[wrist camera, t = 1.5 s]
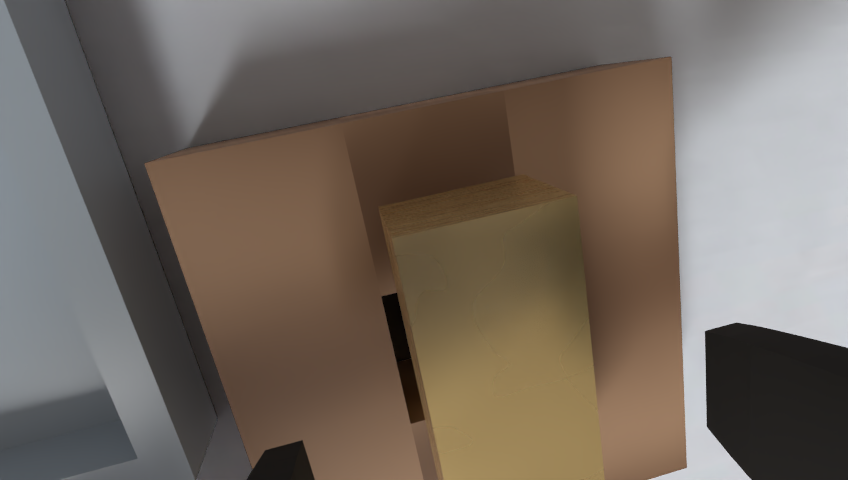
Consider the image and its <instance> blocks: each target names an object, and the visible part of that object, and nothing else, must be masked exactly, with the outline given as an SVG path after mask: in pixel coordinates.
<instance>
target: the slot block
mask: <svg viewBox="0 0 848 480" xmlns="http://www.w3.org/2000/svg"><path fill="white" fill-rule="evenodd" d="M144 164H145V167H146V170H147V173H148V176H149V179H150V181H151V184H152V187H153V190H154V193H155V196H156V198H157V201H158V204H159V207H160V210H161V213H162V215H163V218H164V221H165V224H166V227H167V229H168V232H169V235H170V238H171V241H172V244H173V246H174V249H175V252H176V255H177V258H178V261H179V263H180V266H181V269H182V272H183V275H184V277H185V280H186V283H187V286H188V289H189V292H190V294H191V297H192V300H193V303H194V306H195V309H196V311H197V314H198V317H199V320H200V323H201V325H202V328H203V331H204V334H205V337H206V340H207V342H208V345H209V348H210V351H211V354H212V357H213V359H214V362H215V365H216V368H217V371H218V374H219V376H220V379H221V382H222V385H223V388H224V390H225V393H226V396H227V399H228V402H229V405H230V407H231V410H232V413H233V416H234V419H235V422H236V424H237V427H238V430H239V433H240V436H241V438H242V441H243V444H244V447H245V450H246V453H247V455H248V458H249V461H250V464H251V467H252V470H253V468H254V467H255V465H256V463H257V462H258V460H259V459H260V457H261V456H262V454H263V453H264V451H265V450H268V449H271V448H275V447H279V446H283V445H286V444H290V443H294V442H297V441H301V440H303V443H304V446H305V450H306V453H307V456H308V459H309V462H310V466H311V469H312V472H313V475H314V478H315V480H438V476H437V472H436V467H435V463H434V458H433V454H432V449H431V445H430V440H429V436H428V431H427V426H426V422H425V417H424V413H423V408H422V404H421V399H420V395H419V390H418V386H417V381H416V376H415V372H414V367H413V363H412V358H410V359H406V360H403V361H399V362H396V358H395V354H394V350H393V345H392V341H391V337H390V332H389V328H388V324H387V319H386V315H385V311H384V306H383V302H382V298H381V296H385V295H389V294H393V293H397V290H396V286H395V281H394V276H393V272H392V267H391V263H390V258H389V254H388V249H387V245H386V240H385V236H384V231H383V227H382V222H381V217H380V213H379V208H378V207H379V206H384V205H388V204H392V203H397V202H401V201H406V200H410V199H415V198H419V197H424V196H428V195H433V194H437V193H442V192H446V191H451V190H455V189H460V188H464V187H468V186H473V185H477V184H482V183H486V182H491V181H495V180H500V179H504V178H509V177H513V176H518V175H522V174H524V175H526V176H529V177H531V178H534V179H536V180H539V181H541V182H544V183H546V184H549V185H551V186H554V187H556V188H559V189H561V190H564V191H566V192H569V193H571V194H574V195H577V201H578V211H579V221H580V231H581V242H582V252H583V262H584V272H585V283H586V293H587V303H588V313H589V324H590V334H591V344H592V354H593V365H594V375H595V385H596V395H597V406H598V416H599V426H600V436H601V447H602V457H603V467H604V477H605V480H648V479H651V478H655V477H658V476H661V475H664V474H668V473H671V472H674V471H677V470H681V469H684V468H687V462H686V436H685V409H684V382H683V355H682V328H681V301H680V274H679V247H678V221H677V194H676V167H675V140H674V113H673V86H672V59H671V57H664V58H656V59H647V60H639V61H631V62H622V63H614V64H606V65H599V66H594V67H589V68H584V69H579V70H574V71H569V72H564V73H559V74H554V75H549V76H544V77H539V78H534V79H529V80H524V81H519V82H514V83H509V84H504V85H499V86H494V87H489V88H484V89H479V90H474V91H469V92H464V93H459V94H454V95H450V96H445V97H440V98H435V99H430V100H425V101H420V102H415V103H410V104H405V105H400V106H395V107H390V108H385V109H380V110H375V111H370V112H365V113H360V114H355V115H350V116H345V117H340V118H335V119H330V120H325V121H320V122H315V123H310V124H305V125H300V126H295V127H290V128H285V129H280V130H276V131H271V132H266V133H261V134H256V135H251V136H246V137H241V138H236V139H231V140H226V141H221V142H216V143H211V144H206V145H201V146H196V147H191V148H186V149H183V150H181V151H178V152H175V153H172V154H169V155H166V156H164V157H161V158H158V159H155V160H152V161H150V162H147V163H144Z"/></svg>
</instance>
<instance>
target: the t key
mask: <svg viewBox="0 0 848 480" xmlns="http://www.w3.org/2000/svg"><path fill="white" fill-rule="evenodd" d="M378 208H379V213H380V217H381V222H382V227H383V231H384V236H385V240H386V245H387V249H388V254H389V258H390V263H391V267H392V272H393V276H394V281H395V286H396V290H397V295H398V299H399V304H400V308H401V313H402V317H403V322H404V326H405V331H406V336H407V340H408V345H409V349H410V354H411V358H412V363H413V367H414V372H415V376H416V381H417V386H418V390H419V395H420V399H421V404H422V408H423V413H424V417H425V422H426V426H427V431H428V436H429V440H430V445H431V449H432V454H433V458H434V463H435V467H436V472H437V476H438V480H605V477H604V467H603V457H602V447H601V436H600V426H599V416H598V406H597V395H596V385H595V375H594V365H593V354H592V344H591V334H590V324H589V313H588V303H587V293H586V283H585V272H584V262H583V252H582V242H581V231H580V221H579V211H578V201H577V195H574V194H571V193H569V192H566V191H564V190H561V189H559V188H556V187H554V186H551V185H549V184H546V183H544V182H541V181H539V180H536V179H534V178H531V177H529V176H526V175H524V174H522V175H518V176H513V177H509V178H504V179H500V180H495V181H491V182H486V183H482V184H477V185H473V186H468V187H464V188H460V189H455V190H451V191H446V192H442V193H437V194H433V195H428V196H424V197H419V198H415V199H410V200H406V201H401V202H397V203H392V204H388V205H384V206H379V207H378Z"/></svg>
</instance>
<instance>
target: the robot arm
mask: <svg viewBox="0 0 848 480" xmlns="http://www.w3.org/2000/svg"><path fill="white" fill-rule="evenodd" d="M705 349H706V402H707V427H708V429H709V430H710V431H711V432H712V433H713V435H714V436H715V437H716V438H717V440H718V441H719V442H720V443H721V445H722V446H723V447H724V448H725V450H726V451H727V452H728V453H729V454H730V456H731V457H732V458H733V459H734V460H735V461H736V462H737V464H738V465H739V466H740V467H741V468H742V469H743V471H744V472H745V473H746V474H747V475H748V476H749V477H750V478H751V479H752V480H848V348H846V347H842V346H838V345H834V344H830V343H826V342H822V341H818V340H814V339H810V338H806V337H802V336H798V335H793V334H789V333H785V332H781V331H776V330H772V329H767V328H763V327H758V326H753V325H747V324H741V323H733V324H730V325H726V326H722V327H719V328H715V329H711V330H707V331H705ZM247 480H315V478H314V475H313V472H312V469H311V466H310V462H309V459H308V456H307V453H306V450H305V446H304V443H303V440H301V441H297V442H294V443H290V444H286V445H283V446H279V447H275V448H271V449H268V450H265V451H264V453H263V454H262V456H261V457H260V459H259V460H258V462H257V463H256V465H255V467H254V468H253V470H252V472H251V473H250V475H249V477H248V478H247Z"/></svg>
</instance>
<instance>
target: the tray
mask: <svg viewBox="0 0 848 480" xmlns="http://www.w3.org/2000/svg"><path fill="white" fill-rule="evenodd" d="M216 421H217V416H216V413H215V410H214V408H213V405H212V402H211V399H210V397H209V394H208V391H207V388H206V386H205V383H204V380H203V377H202V375H201V372H200V369H199V367H198V364H197V361H196V358H195V356H194V353H193V350H192V347H191V345H190V342H189V339H188V336H187V334H186V331H185V328H184V326H183V323H182V320H181V317H180V315H179V312H178V309H177V306H176V304H175V301H174V298H173V295H172V293H171V290H170V287H169V285H168V282H167V279H166V276H165V274H164V271H163V268H162V265H161V263H160V260H159V257H158V254H157V252H156V249H155V246H154V244H153V241H152V238H151V235H150V233H149V230H148V227H147V224H146V222H145V219H144V216H143V213H142V211H141V208H140V205H139V203H138V200H137V197H136V194H135V192H134V189H133V186H132V183H131V181H130V178H129V175H128V172H127V170H126V167H125V164H124V162H123V159H122V156H121V153H120V151H119V148H118V145H117V142H116V140H115V137H114V134H113V132H112V129H111V126H110V123H109V121H108V118H107V115H106V112H105V110H104V107H103V104H102V101H101V99H100V96H99V93H98V91H97V88H96V85H95V82H94V80H93V77H92V74H91V71H90V69H89V66H88V63H87V60H86V58H85V55H84V52H83V50H82V47H81V44H80V41H79V39H78V36H77V33H76V30H75V28H74V25H73V22H72V19H71V17H70V14H69V11H68V9H67V6H66V3H65V0H0V480H196V478H197V475H198V473H199V470H200V467H201V464H202V461H203V458H204V455H205V453H206V450H207V447H208V444H209V441H210V438H211V436H212V433H213V430H214V427H215V424H216Z"/></svg>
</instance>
